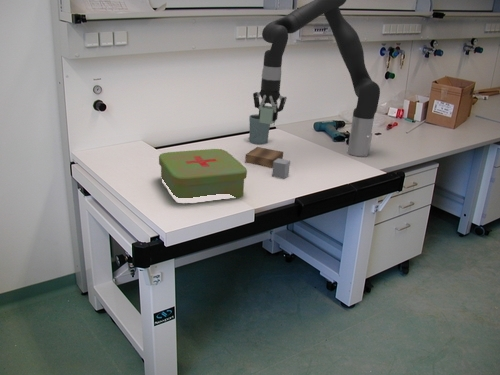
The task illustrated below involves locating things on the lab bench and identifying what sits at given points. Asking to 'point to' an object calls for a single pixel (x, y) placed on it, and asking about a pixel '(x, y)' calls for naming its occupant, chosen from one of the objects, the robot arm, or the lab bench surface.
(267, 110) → the green block
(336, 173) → the lab bench surface
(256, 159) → the walnut block
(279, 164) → the grey block
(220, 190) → the first aid kit
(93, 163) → the lab bench surface
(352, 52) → the robot arm
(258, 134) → the grey-green plant pot
